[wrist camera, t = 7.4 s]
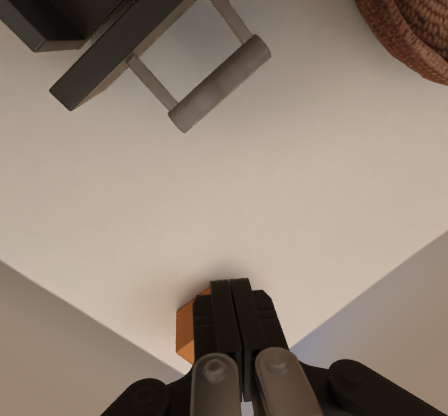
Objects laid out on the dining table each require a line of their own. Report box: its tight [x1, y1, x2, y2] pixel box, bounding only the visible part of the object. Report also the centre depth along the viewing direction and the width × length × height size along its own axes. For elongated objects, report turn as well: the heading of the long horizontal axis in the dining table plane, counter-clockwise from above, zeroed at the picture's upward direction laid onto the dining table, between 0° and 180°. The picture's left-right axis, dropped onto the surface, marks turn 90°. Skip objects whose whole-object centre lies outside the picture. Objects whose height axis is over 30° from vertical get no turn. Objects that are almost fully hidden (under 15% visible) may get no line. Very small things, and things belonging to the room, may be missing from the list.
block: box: [176, 287, 210, 365], centre depth 30 cm, size 5×5×5 cm
